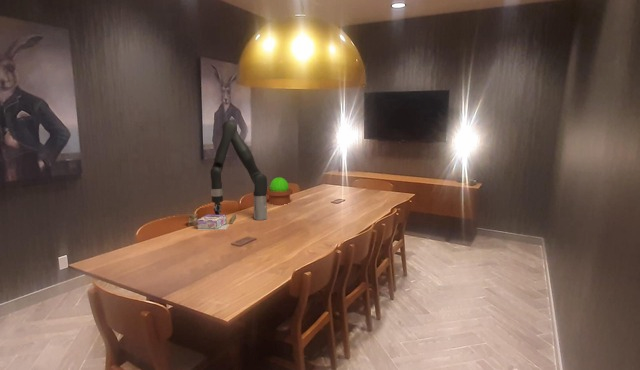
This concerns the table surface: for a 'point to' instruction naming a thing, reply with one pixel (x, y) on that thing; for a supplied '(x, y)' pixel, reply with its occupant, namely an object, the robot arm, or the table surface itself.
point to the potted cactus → (279, 192)
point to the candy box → (212, 221)
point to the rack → (231, 218)
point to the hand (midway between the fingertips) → (218, 219)
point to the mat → (216, 229)
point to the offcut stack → (192, 220)
